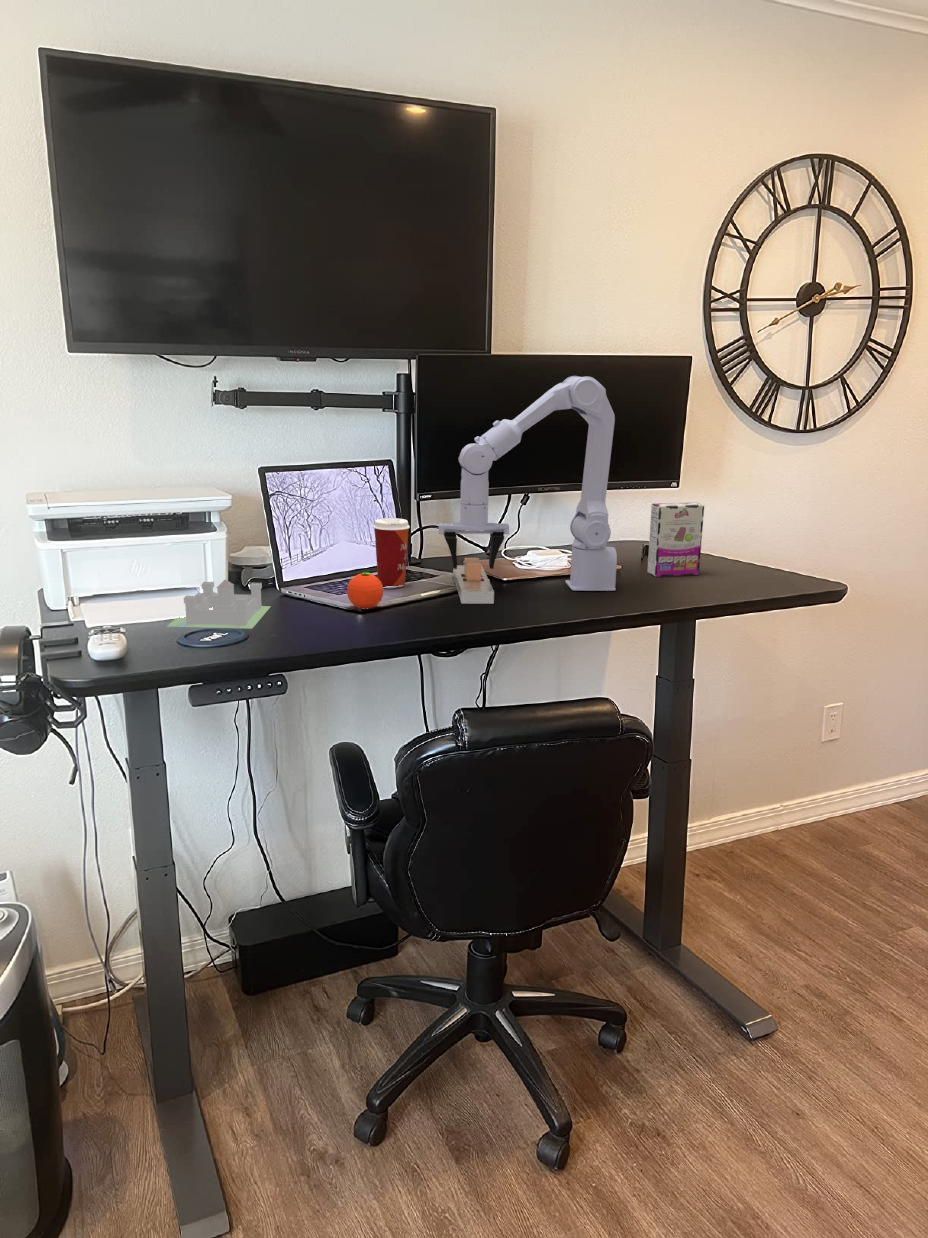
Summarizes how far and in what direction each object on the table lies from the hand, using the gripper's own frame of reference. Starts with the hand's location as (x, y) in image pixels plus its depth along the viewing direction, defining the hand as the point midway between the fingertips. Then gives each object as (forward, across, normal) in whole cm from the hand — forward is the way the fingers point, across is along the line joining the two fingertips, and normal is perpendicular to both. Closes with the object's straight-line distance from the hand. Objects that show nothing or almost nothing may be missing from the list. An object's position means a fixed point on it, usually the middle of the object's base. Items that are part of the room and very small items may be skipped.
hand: (473, 567), depth 188 cm
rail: (+5, 0, 0) cm, 5 cm away
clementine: (+5, +22, +15) cm, 27 cm away
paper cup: (+5, +17, -3) cm, 18 cm away
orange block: (+5, 0, 0) cm, 5 cm away
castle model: (+5, +48, +21) cm, 53 cm away
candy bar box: (+5, -48, -15) cm, 50 cm away
